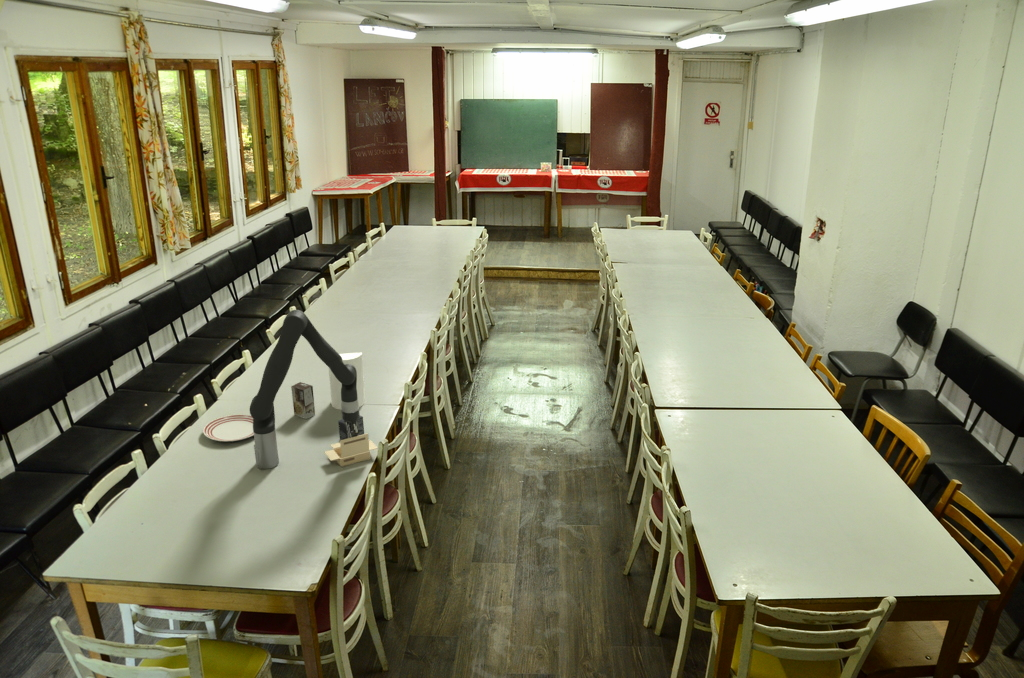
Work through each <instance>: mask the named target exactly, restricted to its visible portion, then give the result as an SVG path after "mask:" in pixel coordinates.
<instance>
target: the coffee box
mask: <svg viewBox="0 0 1024 678" xmlns="http://www.w3.org/2000/svg"><path fill="white" fill-rule="evenodd" d="M290 387H291V388H290V389H291V398H292V407H293V415H294V416H297V417H300V418H303V419H305V420H308V419H309V418H311V417H313V416H315V415H316V410H315V398H314V397H315V396H314V388H313V387H314V386H313V385H311V384H308V383H305V382H303V381H302V382H301V381H300V382H297V383H295V384H294V385H291V386H290Z"/></svg>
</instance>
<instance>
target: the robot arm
mask: <svg viewBox="0 0 1024 678" xmlns="http://www.w3.org/2000/svg"><path fill="white" fill-rule="evenodd" d="M301 336H302V337H303V338H304V339H305V340H306V341H307V343H308V344H309V345H310V347H311V348H312V349H313V351H314V353H315V354H316V356H317V357H318V358H319V359H320V361H322V362H323V364H325V365H326V366H327V367H328V369H329V368H330V369H331V371H332V373H333V374H334V375H335V377H336V378H337V380H338V381H339V382H341V383H342V388H341V408H342V410H341V416H342V419H343V420H344V422H345V426H346V429H347V432H349V435H350V438H351V437H355V436H358V433H359V429H357V422H356V420H357V419H358V418H359V415H360V407H359V403H358V397H357V387H356V385H357V372H356V368H355V367H354V366H353V365H351V364H346V365H345V364H344V363H343V361H342V357H341V356H340V355H339V354H340V353H338V352H337V351H336V349H335V348H334V347H332V346H331V344H330V343H329V342H328V341H326V340H325V338H324V337H323V336H322V335H321V334H320V332H319V331H318V330H317V329H316V327H315V326H314V324H313V323H312V322H311V320H310V318H309V317H308V316H307V315H306V314H305V313H304V312H303V311H302V310H301V309H300V310H299V309H293V310H290V311H289V312H288V313H287V314H286V315H285V318H284V320H283V323H282V327H281V330H280V335H279V337H278V340H277V343H276V344H275V347H274V348H273V350H272V352H271V353H270V355H269V357H268V360H267V363H266V365H265V368H264V370H263V375H262V377H261V382H260V386H259V390H258V392H257V394H256V395H255V396H254V397H253V398H252V400H251V403H250V404H249V405H250V406H249V415H251V416H252V418H253V432H254V435H253V438H254V445H253V449H254V457H255V464H256V465H257V468H258V469H259V470H269V469H273V468H275V467H277V466H278V465H279V464H280V461H279V460H280V458H279V452H278V451H279V449H278V442H277V441H278V440H277V434H276V433H277V432H276V414H275V413H276V412H275V406H274V402H275V399H276V397H277V393H278V392H279V390H280V388H281V386H282V384H283V383H284V380H285V378H286V377H287V375H288V372H289V369H290V367H291V365H292V361H293V357H294V351H295V349H296V346H297V344H298V342H299V340H300V338H301Z"/></svg>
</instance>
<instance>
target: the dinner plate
mask: <svg viewBox="0 0 1024 678" xmlns="http://www.w3.org/2000/svg"><path fill="white" fill-rule="evenodd" d="M202 431H203V435H204V437H206V438H208V439H210V440H213V441H216V442H217V441H218V442H228V443H229V442H236V441H242V440H246V439H249V438H250V437H254V432H253V418H252V416H251V414H246V413H245V414H243V413H242V414H238V413H237V414H230V415H229V414H228V415H223V416H220V417H218V418H215V419H213V420H210V421H209V422H208V423H206V425H204V427H203V429H202Z"/></svg>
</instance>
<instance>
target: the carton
mask: <svg viewBox="0 0 1024 678" xmlns="http://www.w3.org/2000/svg"><path fill="white" fill-rule="evenodd" d="M330 447H331V448H332V449H329V450H326V451H323V452H324V455H326V457H327V458H328V459H329V461H331V462H333V461H336V462H337V464H338V465H339V467H340V468H343V467H346V466H350V465H353V464H354V465H355V464H357V463H361V462H365V461H368V460H371V451H374V450H378V449H379V448H378V446H377V445H376V444H375V443H374V442H373V441H372V440H371V439H369V451H368V452H364V453H361V454H357V455H353V456H349V457H346V458H341V445H340V442H335V443H332V444H330Z"/></svg>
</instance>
